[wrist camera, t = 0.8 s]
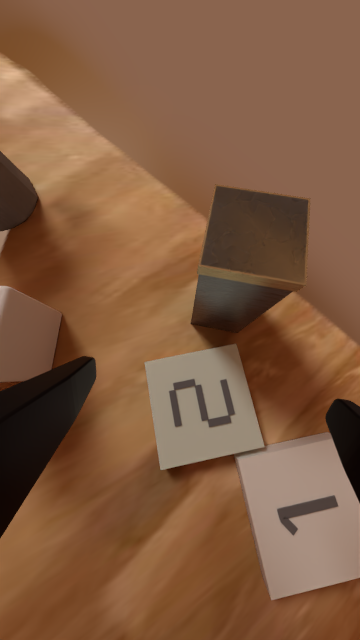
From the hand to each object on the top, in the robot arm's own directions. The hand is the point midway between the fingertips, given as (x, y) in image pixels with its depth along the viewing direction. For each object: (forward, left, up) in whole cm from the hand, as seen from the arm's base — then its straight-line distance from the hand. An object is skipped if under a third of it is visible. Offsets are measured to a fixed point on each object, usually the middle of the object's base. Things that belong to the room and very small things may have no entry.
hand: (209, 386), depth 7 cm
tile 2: (-2, 0, -13) cm, 13 cm away
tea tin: (+7, -4, -13) cm, 15 cm away
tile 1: (-12, -7, -13) cm, 19 cm away
